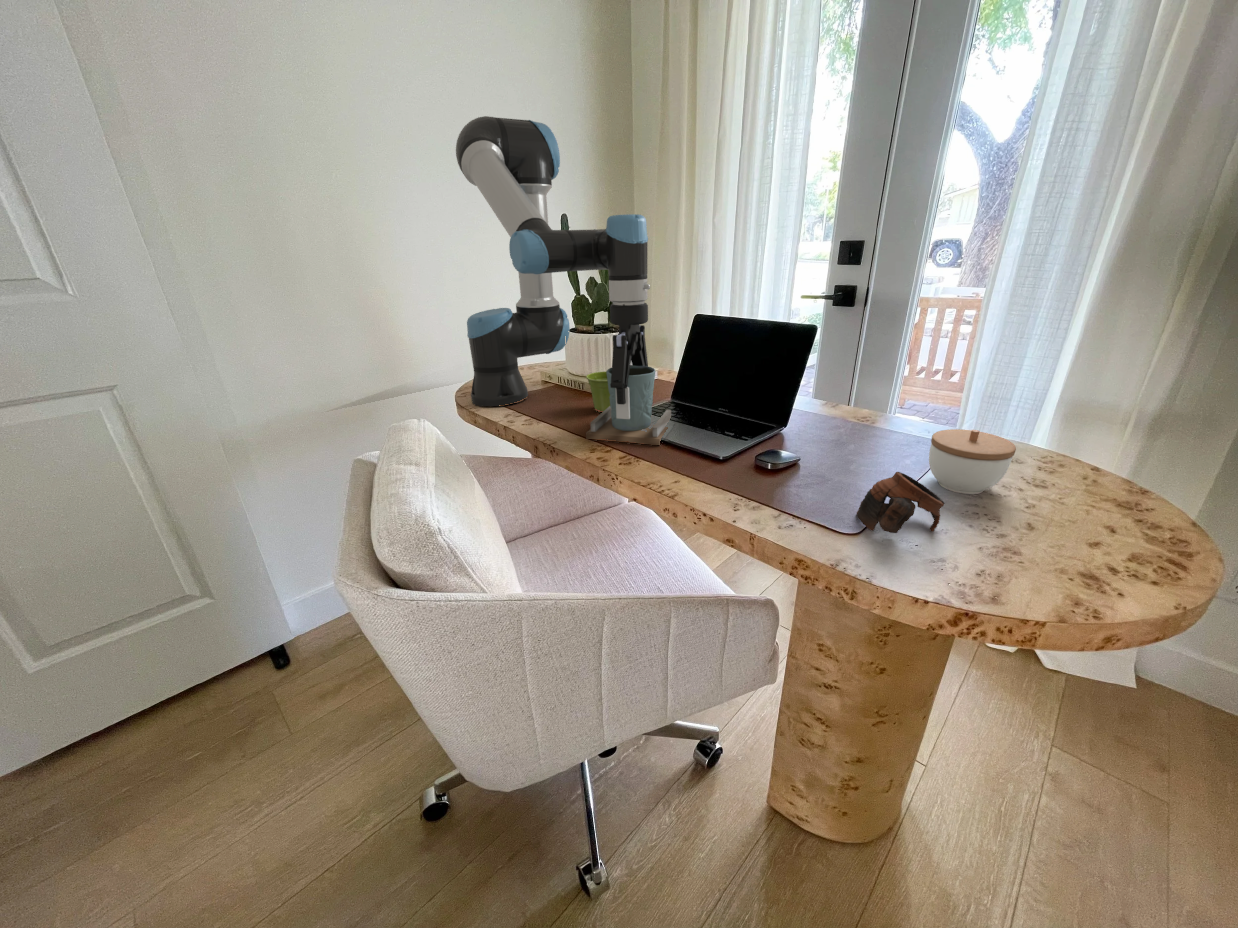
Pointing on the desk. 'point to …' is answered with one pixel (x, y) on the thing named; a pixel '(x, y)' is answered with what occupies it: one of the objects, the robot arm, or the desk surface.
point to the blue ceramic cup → (635, 399)
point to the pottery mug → (897, 503)
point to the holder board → (605, 430)
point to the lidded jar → (969, 459)
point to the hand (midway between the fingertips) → (631, 410)
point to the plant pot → (599, 390)
